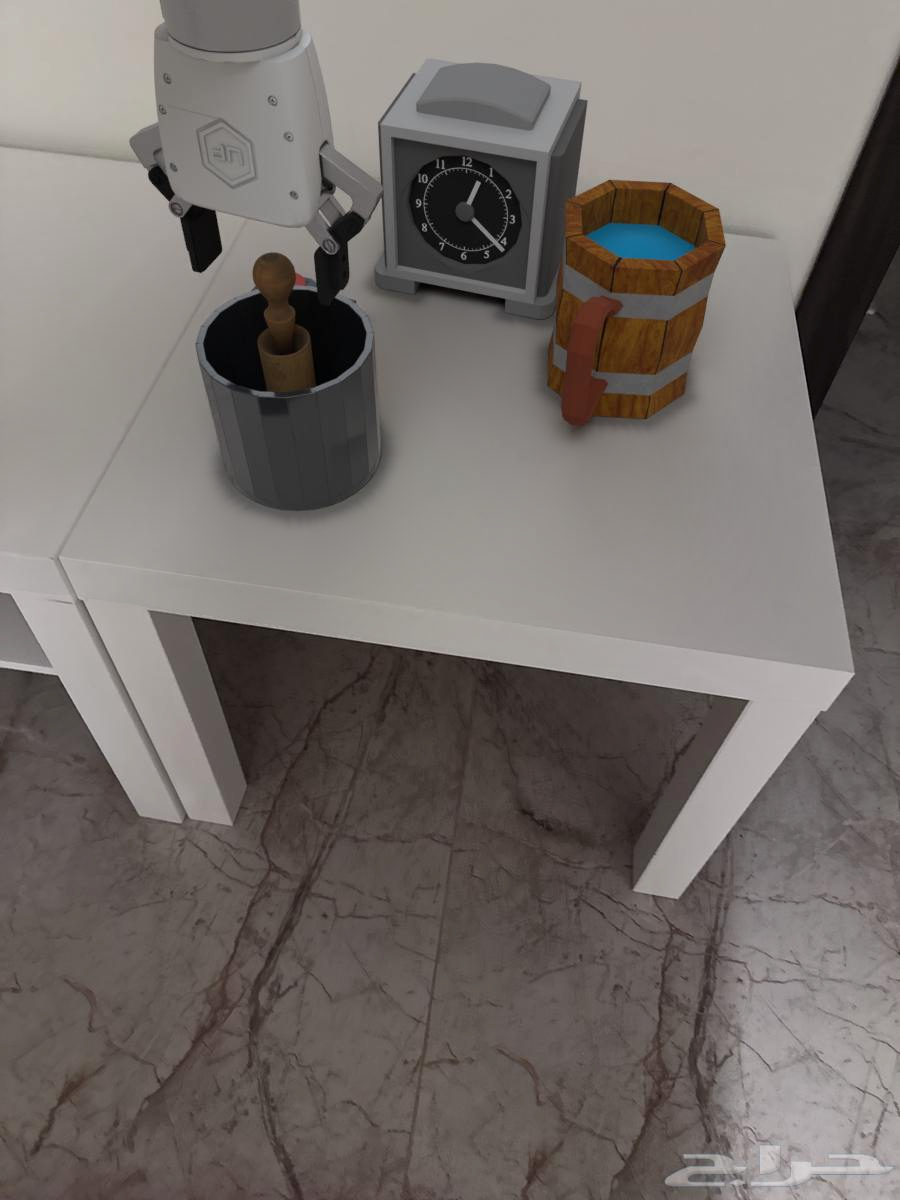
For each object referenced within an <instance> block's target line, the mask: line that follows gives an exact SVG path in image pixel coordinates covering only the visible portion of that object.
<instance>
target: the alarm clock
mask: <svg viewBox="0 0 900 1200" xmlns="http://www.w3.org/2000/svg"><path fill="white" fill-rule="evenodd" d="M408 78H409V79H407V81H406V82H405V84H404V85H403V86H402V88H401V89H400V91H399V92H398V94H397V95H396V96H395V98H394V99H393V100H392V102H391V104H390V105H389V106H388V108H387V109H386V110H385V112H384V113H383V115H382V116H381V117H380V119H379V120H378V122H377V132H378V133H377V134H378V153H379V175H380V176H379V177H380V184H381V185H382V187H383V189H384V193H383V195H382V197H381V213H382V233H383V252H382V253H381V255H380V257H379V258H378V260H377V261H376V263H375V265H374V280H375V283H376V286H377V287H379V288H380V289H383V290H384V289H385V290H390V291H394V292H397V293H398V292H399V293H404V294H409V295H415V294H416V292H417V290H418V289H419V287H420V285H421V283H423V284H427V285H433V286H439V287H443V288H448V289H454V290H460V291H464V292H469V293H473V294H478V295H484V296H489V297H494V298H500V299H504V300H505V302H504V313H505V314H510V315H514V316H515V315H516V316H519V317H526V318H531V319H535V320H544V319H548V318H549V317H551V316H552V315H553V313H554V311H555V309H556V281H557V276H558V272H559V268H560V263H561V259H562V255H563V247H564V239H565V231H566V201H567V200H569V199H571V198H573V197H575V196H577V195H576V194H577V187H578V179H579V171H580V165H581V164H580V162H581V156H582V148H583V147H582V146H583V140H584V134H585V133H584V132H585V126H586V117H587V109H588V102H589V100H588V99H582V98H581V90H582V81H579V80H578V81H577V80H571V79H565V78H558V77H553V76H552V77H551V76H546V75H539V74H532V73H528V72H526V71H525V72H524V71H523V70H519V69H518V68H515V67H510V66H506V65H502V64H497V63H489V62H487V63H486V62H464V63H461V62H454V61H447V60H442V59H435V58H429V57H428V58H426V59H425V60H424V61H423V63H422V64H421V66H420V68H419V69H418V70H417V72H413V73H411V75H410V77H408Z"/></svg>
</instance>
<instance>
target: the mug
mask: <svg viewBox="0 0 900 1200" xmlns="http://www.w3.org/2000/svg"><path fill="white" fill-rule="evenodd" d="M726 247H727V243H726V239H725V233H724V228H723V223H722V217H721V213H720V208H718V207H717V206H715V205H713V204H711V203H709V202H707V201H705V200H704V199H702V198H700V197H698V196H696V195H694V194H692V193H691V192H688V191H687V190H685V189H683V188H682V187H680V186H677V185H676V184H674V183H672V182H665V181H664V182H663V181H643V180H624V179H623V180H621V179H608V180H606V181H604V182H601V183H599V184H598V185H595V186H593V187H591V188H589V189H587V190H586V191H583V192H581V193H579V194H577V195H575V197H573V198H571V199H569V200H567V201H566V231H565V239H564V247H563V255H562V259H561V263H560V268H559V272H558V276H557V281H556V305H555V313H554V320H553V321H554V322H553V329H552V332H551V336H550V340H549V344H548V347H547V379H546V380H547V382H546V384H547V385H546V386H547V387H548V388H549V389H551V390H552V391H554V392H555V393H556V394H558V395H559V396H560V397H561V401H560V411H561V416H562V419H563V421H564V422H566V423H568V425H569V424H570V425H571V426H576V427H577V426H578V427H582V426H584V425H586V424H587V422H589V421H590V419H592V417H604V418H605V417H606V418H608V417H609V418H610V417H611V418H623V419H624V418H625V419H641V420H647V419H648V418H650V417H651V416H653V415H655V414H656V413H657V412H659V411H660V410H662V409H664V408H665V407H666V406H668V405H669V404H671V403H673V402H674V401H676V400H677V399H679V398H681V397H682V396H683V395H685V391H686V385H687V376H688V370H689V366H690V363H691V359H692V355H693V351H694V350H695V348H696V347H695V346H696V344H697V341H698V339H699V336H700V334H701V332H702V329H703V327H704V323H705V316H706V310H707V304H708V298H709V294H710V290H711V287H712V283H713V280H714V275H715V273H716V270H717V268H718V265H719V263H720V260H721V258H722V255H723V253H724V251H725V249H726Z"/></svg>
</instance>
